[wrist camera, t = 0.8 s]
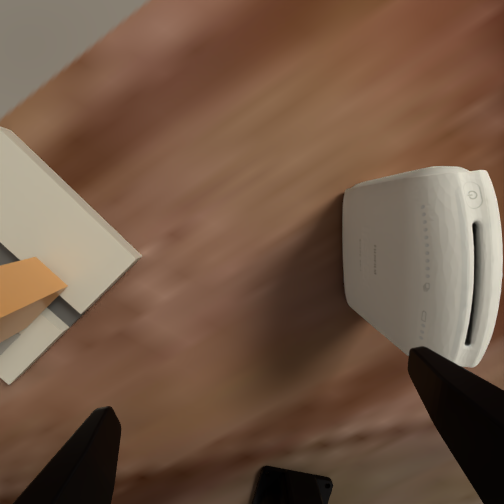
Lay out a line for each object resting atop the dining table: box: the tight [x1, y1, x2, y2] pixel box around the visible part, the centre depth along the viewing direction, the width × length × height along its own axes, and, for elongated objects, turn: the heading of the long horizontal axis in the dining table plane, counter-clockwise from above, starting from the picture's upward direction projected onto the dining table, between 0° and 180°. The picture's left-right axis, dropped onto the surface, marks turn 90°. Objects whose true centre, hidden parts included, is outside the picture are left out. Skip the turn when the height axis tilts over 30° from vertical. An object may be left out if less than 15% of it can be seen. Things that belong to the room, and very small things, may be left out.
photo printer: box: [342, 166, 503, 367], centre depth 20 cm, size 10×4×12 cm, turn 3°
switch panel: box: [0, 127, 142, 385], centre depth 24 cm, size 13×14×2 cm
